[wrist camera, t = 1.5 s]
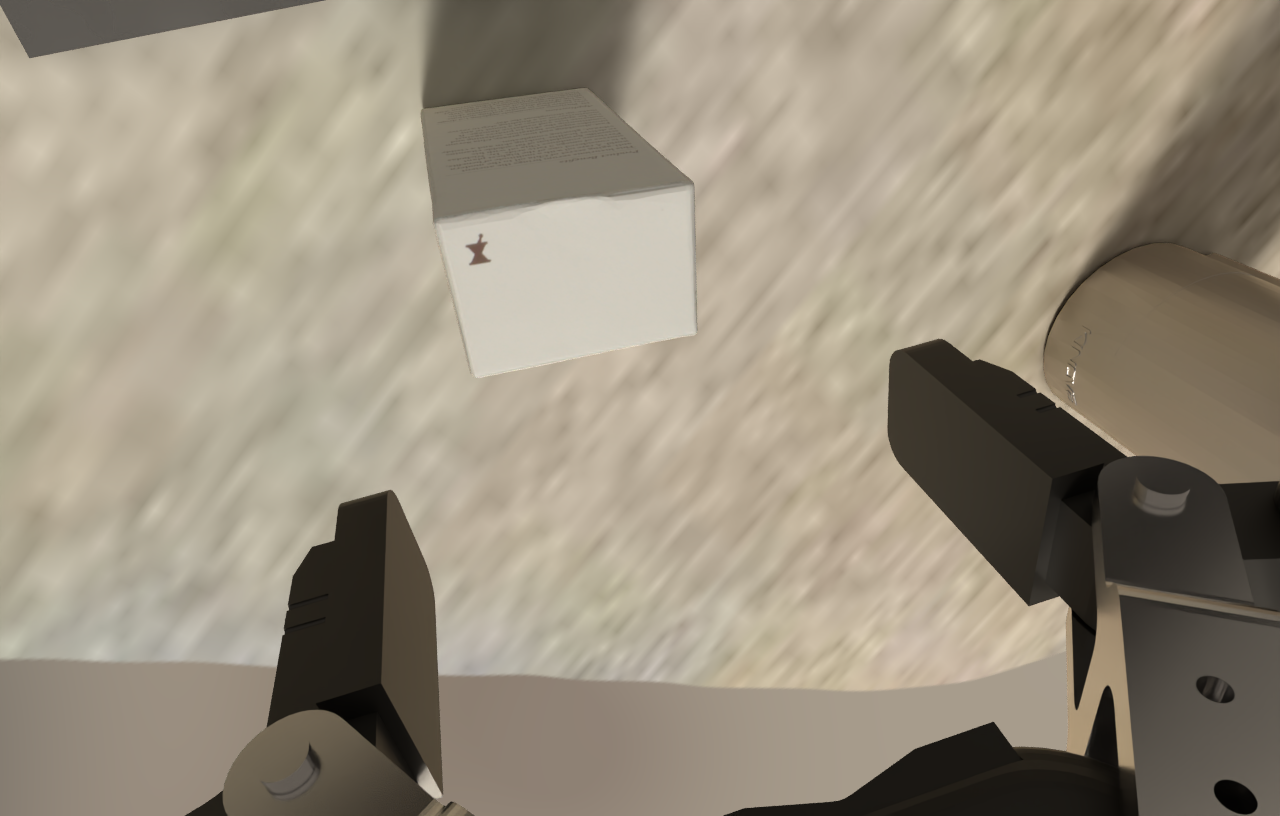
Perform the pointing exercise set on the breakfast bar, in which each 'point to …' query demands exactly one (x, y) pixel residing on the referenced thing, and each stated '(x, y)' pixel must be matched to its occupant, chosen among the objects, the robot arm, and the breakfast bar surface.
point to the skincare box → (557, 230)
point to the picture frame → (117, 19)
